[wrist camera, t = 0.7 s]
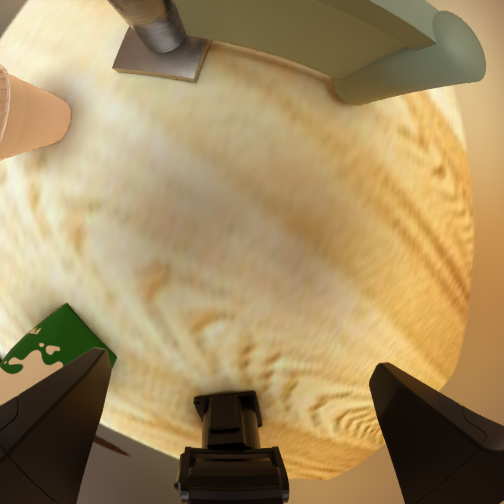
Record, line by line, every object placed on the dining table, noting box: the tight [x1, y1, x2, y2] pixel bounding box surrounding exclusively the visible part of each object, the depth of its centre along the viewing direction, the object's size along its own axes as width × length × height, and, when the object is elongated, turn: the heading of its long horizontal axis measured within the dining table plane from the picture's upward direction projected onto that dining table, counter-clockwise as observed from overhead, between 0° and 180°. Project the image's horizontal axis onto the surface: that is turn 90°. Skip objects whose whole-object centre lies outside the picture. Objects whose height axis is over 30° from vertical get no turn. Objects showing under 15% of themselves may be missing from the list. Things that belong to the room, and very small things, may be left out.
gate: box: [174, 0, 486, 105], centre depth 10 cm, size 12×3×10 cm, turn 73°
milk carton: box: [0, 303, 117, 405], centre depth 13 cm, size 9×9×20 cm
